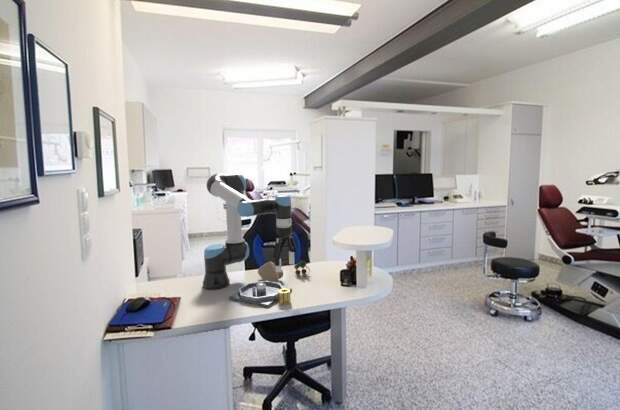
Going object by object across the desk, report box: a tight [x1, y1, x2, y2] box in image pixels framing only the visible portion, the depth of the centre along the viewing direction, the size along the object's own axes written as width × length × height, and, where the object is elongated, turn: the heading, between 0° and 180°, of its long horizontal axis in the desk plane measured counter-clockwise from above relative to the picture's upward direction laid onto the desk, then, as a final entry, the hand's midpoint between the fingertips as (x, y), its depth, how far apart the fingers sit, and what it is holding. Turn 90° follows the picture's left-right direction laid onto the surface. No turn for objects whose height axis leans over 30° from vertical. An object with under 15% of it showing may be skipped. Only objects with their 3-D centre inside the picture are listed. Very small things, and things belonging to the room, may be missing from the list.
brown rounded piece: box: [257, 261, 284, 283], centre depth 202 cm, size 14×8×15 cm
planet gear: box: [277, 289, 292, 305], centre depth 170 cm, size 6×6×6 cm
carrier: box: [228, 280, 293, 308], centre depth 179 cm, size 24×24×6 cm
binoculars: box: [293, 260, 311, 278], centre depth 209 cm, size 9×9×10 cm
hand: (285, 267), depth 169 cm, fingers open, 13 cm apart
